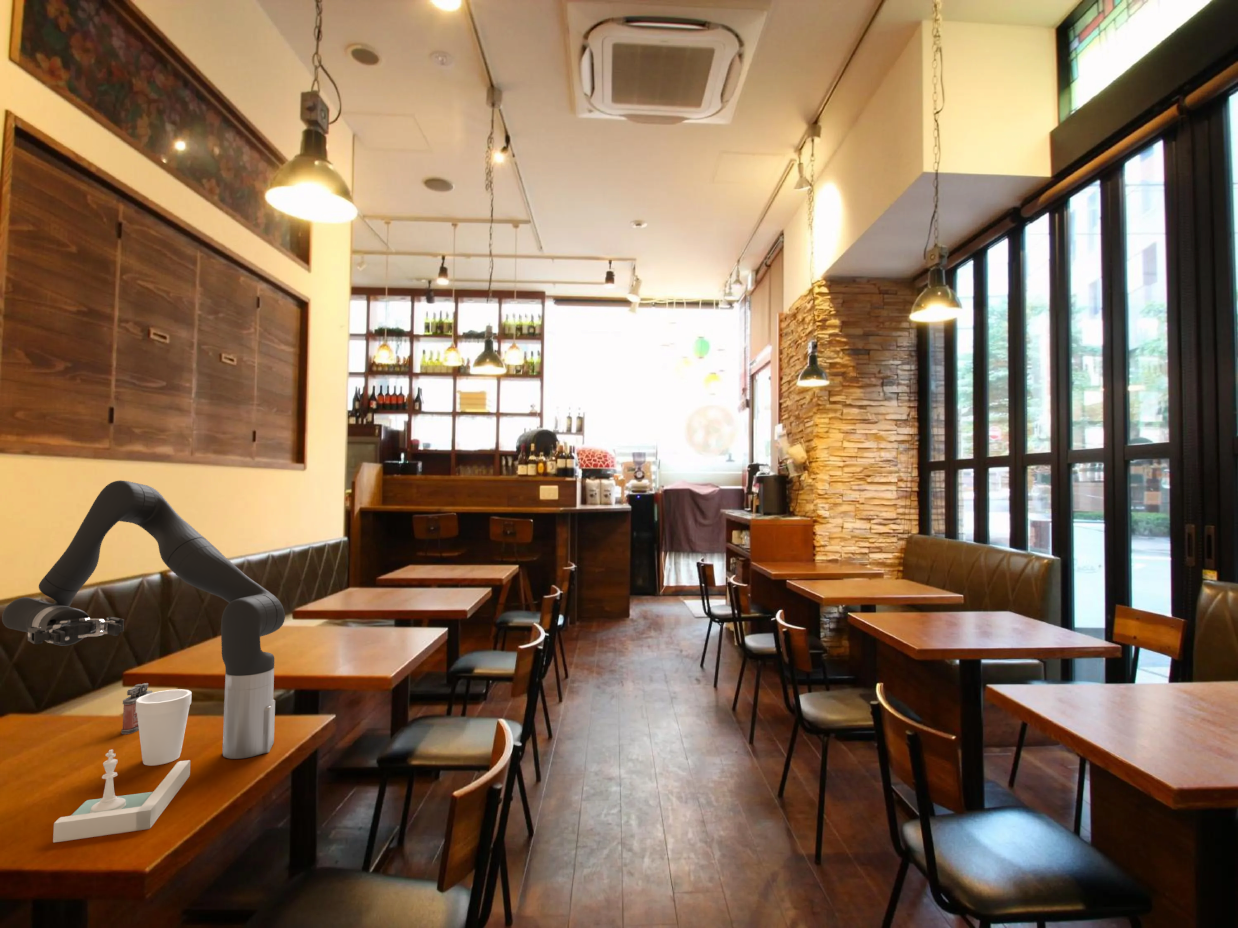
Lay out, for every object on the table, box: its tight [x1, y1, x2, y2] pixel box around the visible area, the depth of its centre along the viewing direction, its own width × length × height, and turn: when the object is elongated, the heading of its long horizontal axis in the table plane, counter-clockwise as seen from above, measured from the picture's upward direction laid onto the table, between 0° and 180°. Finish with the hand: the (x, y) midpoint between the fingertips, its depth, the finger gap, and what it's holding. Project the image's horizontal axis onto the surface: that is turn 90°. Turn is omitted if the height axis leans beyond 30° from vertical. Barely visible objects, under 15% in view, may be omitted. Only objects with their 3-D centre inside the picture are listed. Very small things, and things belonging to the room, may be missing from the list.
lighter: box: [120, 682, 154, 735], centre depth 150 cm, size 8×3×10 cm, turn 5°
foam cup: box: [136, 688, 192, 766], centre depth 132 cm, size 10×9×13 cm
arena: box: [52, 759, 191, 843], centre depth 112 cm, size 14×21×3 cm, turn 19°
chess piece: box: [90, 749, 126, 813], centre depth 110 cm, size 5×5×10 cm
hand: (90, 633), depth 123 cm, fingers open, 8 cm apart
